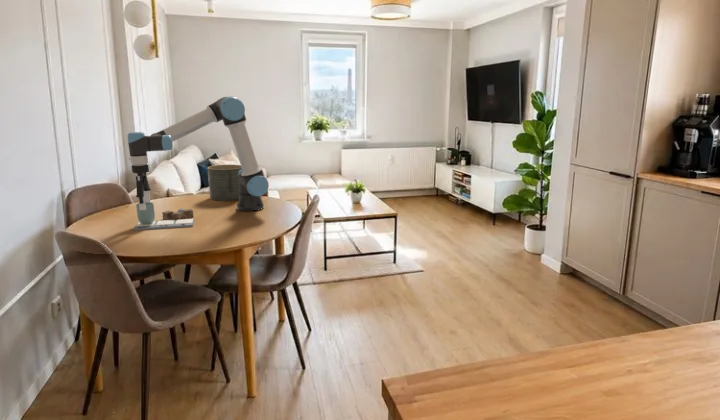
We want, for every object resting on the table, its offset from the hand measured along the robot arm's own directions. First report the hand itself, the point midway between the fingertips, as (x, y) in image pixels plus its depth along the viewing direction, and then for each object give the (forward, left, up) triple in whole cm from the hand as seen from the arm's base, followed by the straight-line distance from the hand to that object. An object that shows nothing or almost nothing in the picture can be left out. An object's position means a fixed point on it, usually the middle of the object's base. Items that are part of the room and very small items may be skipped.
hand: (145, 206), depth 226 cm
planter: (-39, -59, -10) cm, 72 cm away
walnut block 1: (-9, -11, -10) cm, 17 cm away
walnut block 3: (-19, -13, -10) cm, 25 cm away
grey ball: (-15, -17, -10) cm, 25 cm away
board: (-9, +2, -10) cm, 13 cm away
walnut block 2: (-14, -7, -10) cm, 18 cm away
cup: (0, 0, -9) cm, 9 cm away
